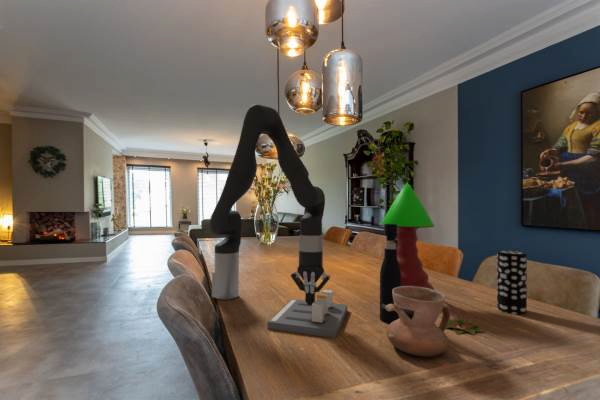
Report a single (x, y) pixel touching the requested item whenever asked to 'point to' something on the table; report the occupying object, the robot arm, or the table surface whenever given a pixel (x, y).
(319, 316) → the block
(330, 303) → the breaker
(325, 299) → the block
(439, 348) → the ceramic jug
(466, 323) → the green leafy sprig
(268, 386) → the table surface
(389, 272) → the wine bottle
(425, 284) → the table lamp
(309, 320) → the breaker panel
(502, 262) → the white-spotted black cylinder
